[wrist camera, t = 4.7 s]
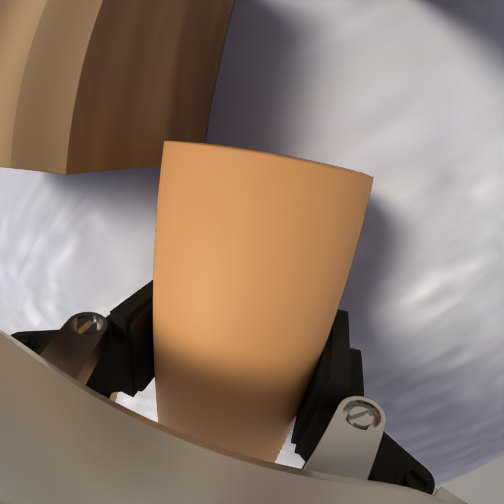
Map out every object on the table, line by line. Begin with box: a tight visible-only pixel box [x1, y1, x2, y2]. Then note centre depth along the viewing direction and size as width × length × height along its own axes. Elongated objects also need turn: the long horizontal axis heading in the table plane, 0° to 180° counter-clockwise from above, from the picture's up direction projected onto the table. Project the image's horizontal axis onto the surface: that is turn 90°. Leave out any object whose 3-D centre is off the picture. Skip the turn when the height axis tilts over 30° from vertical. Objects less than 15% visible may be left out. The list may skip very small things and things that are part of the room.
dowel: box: [153, 141, 373, 463], centre depth 9 cm, size 12×5×5 cm, turn 170°
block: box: [0, 0, 234, 175], centre depth 8 cm, size 12×9×8 cm
